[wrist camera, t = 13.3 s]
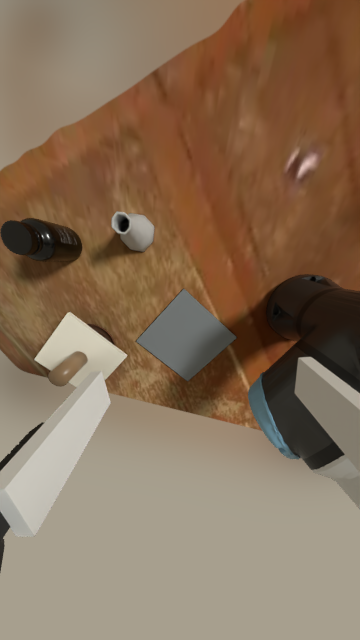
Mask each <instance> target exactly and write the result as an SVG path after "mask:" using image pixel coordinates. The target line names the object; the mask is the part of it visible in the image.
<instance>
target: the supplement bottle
mask: <svg viewBox="0 0 360 640" xmlns="http://www.w3.org/2000/svg"><path fill="white" fill-rule="evenodd" d="M0 233H1V237H2V240H3V243H4V244H5V246H6V247H7V248H8V249H9V250H10V251H12V252H13V253H16V254H19V255H26V256H28V257H29V258H31V259H33V260H36V261H72V260H75V259H77V258H78V257H79V256H80V254H81V251H82V243H81V240H80V238H79V236H78V235H77V234H76V232H74V231H73V230H72V229H70V228H68V227H65V226H61V225H58V224H54V223H50V222H47V221H43V220H39V219H34V218H27V219H24V220H22V221H20V222H19V221H12V220H10V221H7V222H5V223H4V224H3V226H2V228H1V232H0Z"/></svg>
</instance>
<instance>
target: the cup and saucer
mask: <svg viewBox="0 0 360 640" xmlns="http://www.w3.org/2000/svg"><path fill="white" fill-rule="evenodd" d="M87 325H88V326H89V327H91V328H92V329H93V330H95V331H96V332H97V333H99V334H100V335H101V336H103V337H104V338H105V339H107V340H108V341H109V342H111V343H112V344H113V345H115V342H114V339H113V338H112V336H111V335H110V333H109V332H108V331H106V330H105V329H104V328H102V327H100V326H98V325H94V324H87Z"/></svg>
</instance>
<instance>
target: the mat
mask: <svg viewBox="0 0 360 640" xmlns="http://www.w3.org/2000/svg"><path fill="white" fill-rule="evenodd" d="M236 338H237V337H236V336H235V335H234V334H233V333H231V332H230V331H229V330H228V329H227V328H226V327H225V326H224V325H223V324H222V323H221V322H220V321H218V320H217V319H216V318H215V317H214V316H213V315H212V314H211V313H210V312H209V311H208V310H206V309H205V308H204V307H203V306H202V305H201V304H200V303H199V302H198V301H197V300H196V299H195V298H193V297H192V296H191V295H190V294H189V293H188V292H187V291H186V290H185V289H183V290H182V291H181V292H180V293H179V294H178V295H177V297H176V298H175V299H174V300H173V301H172V302H171V303H170V304H169V305H168V306H167V308H166V309H165V310H164V311H163V312H162V313H161V314H160V315H159V316H158V317H157V319H156V320H155V321H154V322H153V323H152V324H151V325H150V326H149V327H148V328H147V330H146V331H145V332H144V333H143V334H142V335H141V336H140V337H139V338H138V339H137V340H136V342H138V343H139V344H140V345H142V346H143V347H144V348H145V349H147V350H148V351H149V352H151V353H152V354H153V355H154V356H156V357H157V358H158V359H160V360H161V361H162V362H163V363H165V364H166V365H167V366H169V367H170V368H171V369H172V370H174V371H175V372H176V373H178V374H179V375H180V376H181V377H183V378H184V379H185V380H187V381H189V380H190V379H191V378H192V377H193V376H194V375H195V374H197V373H198V372H199V371H200V370H201V369H202V368H203V367H204V366H206V365H207V364H208V363H209V362H210V361H211V360H212V359H213V358H215V357H216V356H217V355H218V354H219V353H220V352H221V351H222V350H224V349H225V348H226V347H227V346H228V345H229V344H230V343H232V342H233V341H234V340H235V339H236Z"/></svg>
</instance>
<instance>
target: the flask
mask: <svg viewBox="0 0 360 640" xmlns="http://www.w3.org/2000/svg"><path fill="white" fill-rule="evenodd" d="M111 227H112V228H113V229H114V230H115V231H116V232H117V233H118V234H120V235H121V240H122V241H123V242H124V243H125V244H126V245H127V246H128V247H129V248H130V249H131V250H136V251H142V252H144V251H145V250H146V249H147V248H148V247H149V246H150V245H151V244H152V242H153V238H154V228H155V227H154V226H153V224H152V223H151V222H150V221H149V220H148V219H147V218H146V217H145V216H144V215H139V214H133V213H130V214H129V215H127V214H126V213H123V212H116V213H115V214H114V216H113V217H112V225H111Z"/></svg>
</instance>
